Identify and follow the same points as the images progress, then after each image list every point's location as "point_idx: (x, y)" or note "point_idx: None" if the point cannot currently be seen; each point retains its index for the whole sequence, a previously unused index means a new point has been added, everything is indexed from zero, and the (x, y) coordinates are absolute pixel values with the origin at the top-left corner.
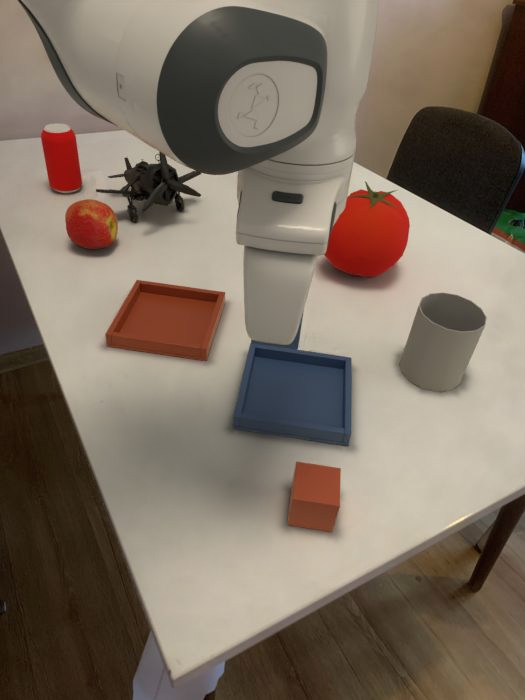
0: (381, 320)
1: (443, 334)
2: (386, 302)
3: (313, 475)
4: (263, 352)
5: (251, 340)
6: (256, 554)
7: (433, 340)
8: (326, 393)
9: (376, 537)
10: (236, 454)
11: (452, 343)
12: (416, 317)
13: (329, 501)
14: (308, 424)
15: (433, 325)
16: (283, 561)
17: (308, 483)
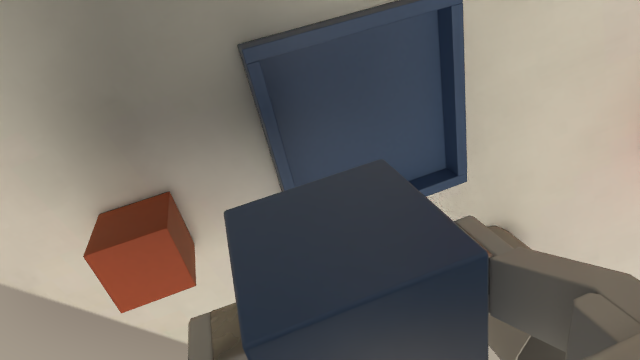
0: (571, 174)
1: (508, 345)
2: (614, 166)
3: (154, 261)
4: (445, 24)
5: (224, 218)
6: (13, 198)
7: (500, 321)
8: None
9: (159, 309)
10: (182, 79)
11: (497, 347)
12: None
13: (119, 299)
14: (289, 182)
15: (524, 335)
16: (33, 234)
17: (132, 262)
